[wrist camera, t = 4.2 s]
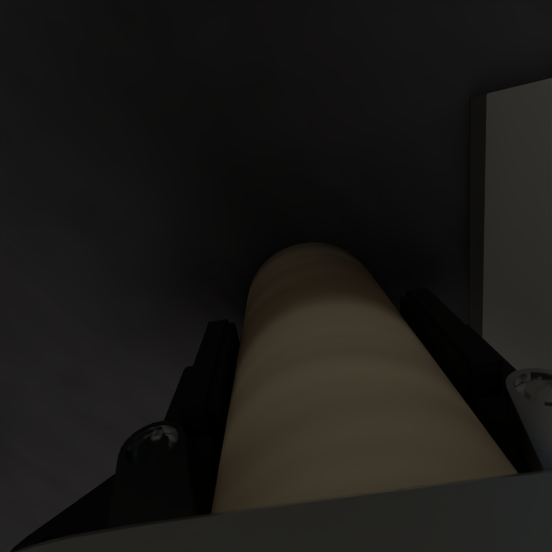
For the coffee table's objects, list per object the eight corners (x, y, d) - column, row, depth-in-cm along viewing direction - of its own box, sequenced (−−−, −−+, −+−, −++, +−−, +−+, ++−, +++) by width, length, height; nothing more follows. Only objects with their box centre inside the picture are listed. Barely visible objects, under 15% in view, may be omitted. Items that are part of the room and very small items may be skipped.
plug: (235, 254, 14) (39, 822, 2) (370, 231, 13) (932, 744, 2) (260, 368, 15) (220, 1028, 4) (380, 350, 15) (716, 1000, 4)
